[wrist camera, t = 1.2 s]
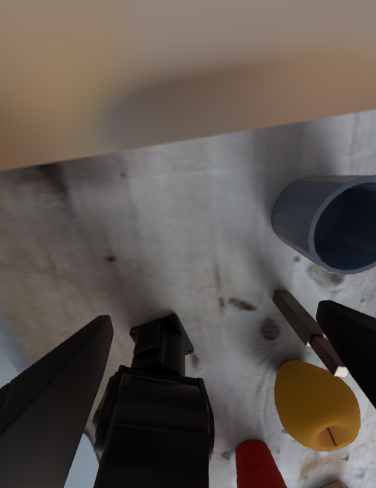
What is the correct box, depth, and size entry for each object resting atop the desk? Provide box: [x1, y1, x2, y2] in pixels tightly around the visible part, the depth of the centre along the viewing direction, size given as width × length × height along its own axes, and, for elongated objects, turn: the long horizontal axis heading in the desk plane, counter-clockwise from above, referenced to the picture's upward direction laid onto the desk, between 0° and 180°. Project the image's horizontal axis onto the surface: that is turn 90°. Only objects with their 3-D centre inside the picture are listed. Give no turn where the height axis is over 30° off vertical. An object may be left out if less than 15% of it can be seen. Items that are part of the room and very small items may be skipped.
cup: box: [272, 175, 376, 275], centre depth 18 cm, size 8×8×6 cm
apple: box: [274, 360, 361, 451], centre depth 24 cm, size 9×9×9 cm
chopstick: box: [272, 290, 349, 377], centre depth 20 cm, size 2×2×10 cm
